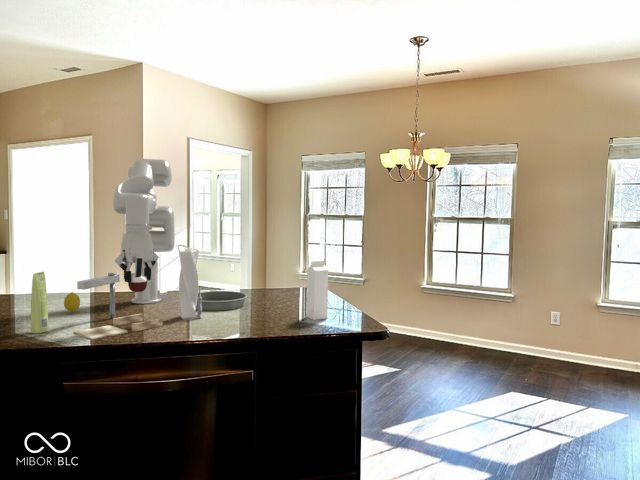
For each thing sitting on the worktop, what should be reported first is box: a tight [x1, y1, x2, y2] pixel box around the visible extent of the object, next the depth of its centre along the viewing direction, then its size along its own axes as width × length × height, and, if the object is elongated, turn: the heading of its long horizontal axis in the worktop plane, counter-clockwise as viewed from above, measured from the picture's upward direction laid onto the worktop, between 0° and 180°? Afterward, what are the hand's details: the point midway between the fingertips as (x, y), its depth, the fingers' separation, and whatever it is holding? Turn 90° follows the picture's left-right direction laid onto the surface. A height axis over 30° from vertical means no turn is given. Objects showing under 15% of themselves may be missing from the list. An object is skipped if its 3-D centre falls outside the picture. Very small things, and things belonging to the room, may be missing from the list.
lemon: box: [63, 291, 81, 313], centre depth 179 cm, size 6×6×8 cm
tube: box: [30, 271, 49, 334], centre depth 149 cm, size 6×5×20 cm
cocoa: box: [127, 258, 147, 293], centre depth 159 cm, size 10×6×12 cm, turn 8°
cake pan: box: [196, 290, 248, 311], centre depth 199 cm, size 25×25×4 cm
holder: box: [112, 313, 163, 332], centre depth 160 cm, size 11×13×2 cm
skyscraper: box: [177, 244, 203, 321], centre depth 174 cm, size 8×8×28 cm
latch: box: [76, 272, 121, 320], centre depth 163 cm, size 20×3×17 cm, turn 170°
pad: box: [72, 324, 129, 341], centre depth 149 cm, size 12×12×1 cm
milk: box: [306, 260, 329, 321], centre depth 177 cm, size 6×6×22 cm
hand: (137, 280), depth 160 cm, fingers closed on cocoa, 6 cm apart
